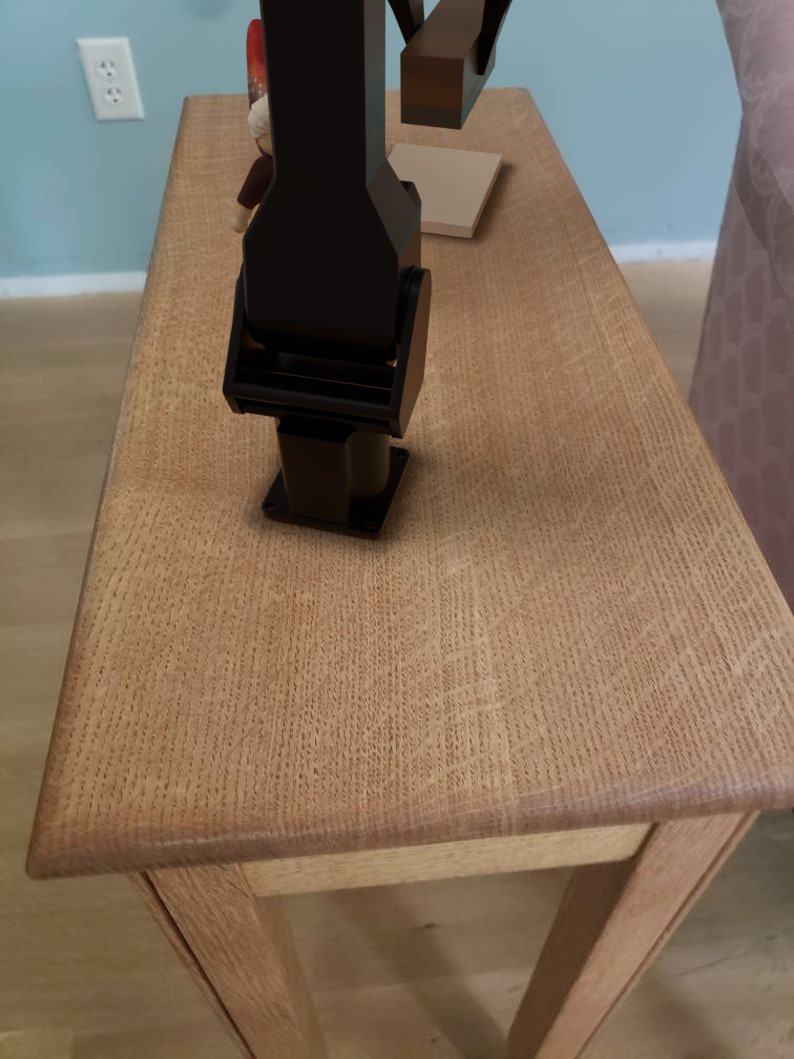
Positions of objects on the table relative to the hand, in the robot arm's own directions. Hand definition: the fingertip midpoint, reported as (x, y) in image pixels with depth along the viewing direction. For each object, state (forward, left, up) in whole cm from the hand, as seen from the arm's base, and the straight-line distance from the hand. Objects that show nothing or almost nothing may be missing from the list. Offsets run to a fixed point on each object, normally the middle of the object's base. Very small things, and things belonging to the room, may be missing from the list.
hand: (451, 70), depth 57 cm
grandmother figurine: (-11, +8, -11) cm, 18 cm away
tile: (+4, +2, -11) cm, 11 cm away
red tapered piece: (+2, +15, -11) cm, 18 cm away
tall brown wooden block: (0, 0, -2) cm, 2 cm away
